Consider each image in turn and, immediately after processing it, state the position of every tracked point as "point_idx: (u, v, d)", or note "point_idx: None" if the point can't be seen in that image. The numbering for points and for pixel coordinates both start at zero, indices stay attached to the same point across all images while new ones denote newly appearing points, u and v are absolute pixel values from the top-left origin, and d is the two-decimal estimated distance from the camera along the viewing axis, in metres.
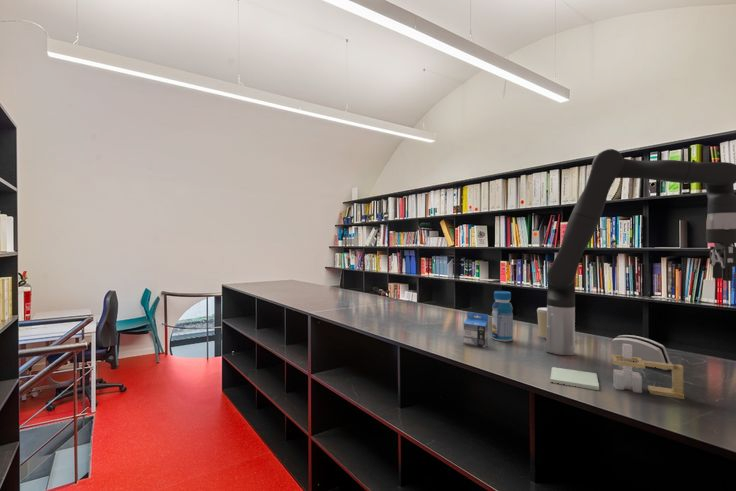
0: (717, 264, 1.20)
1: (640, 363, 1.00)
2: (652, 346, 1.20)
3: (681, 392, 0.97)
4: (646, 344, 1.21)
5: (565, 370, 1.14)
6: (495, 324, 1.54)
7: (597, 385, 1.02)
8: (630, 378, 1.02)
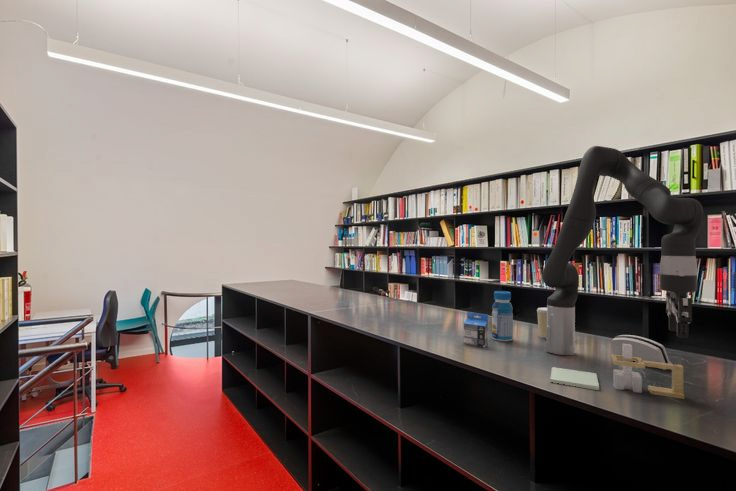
0: (674, 314, 1.02)
1: (640, 363, 1.00)
2: (652, 346, 1.20)
3: (681, 392, 0.97)
4: (646, 344, 1.22)
5: (565, 370, 1.14)
6: (495, 324, 1.54)
7: (597, 385, 1.02)
8: (630, 378, 1.02)
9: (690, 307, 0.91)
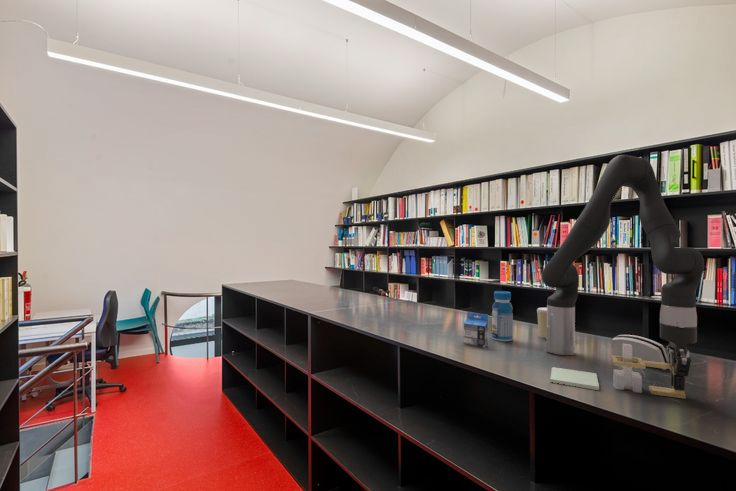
0: None
1: (640, 363, 1.00)
2: (651, 346, 1.21)
3: (682, 392, 0.97)
4: (645, 344, 1.22)
5: (565, 370, 1.14)
6: (495, 324, 1.54)
7: (597, 385, 1.02)
8: (630, 378, 1.02)
9: (688, 366, 0.93)
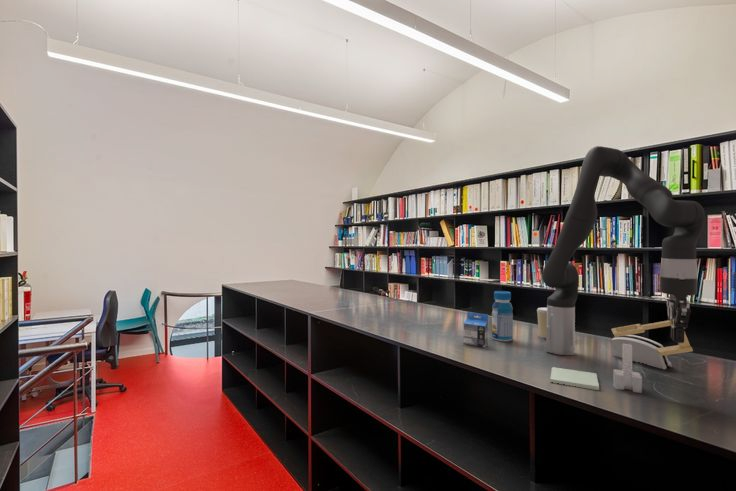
0: None
1: (639, 328, 1.00)
2: (651, 345, 1.21)
3: (688, 345, 0.96)
4: (645, 343, 1.22)
5: (565, 370, 1.14)
6: (495, 324, 1.54)
7: (597, 385, 1.02)
8: (630, 378, 1.02)
9: (688, 317, 0.93)
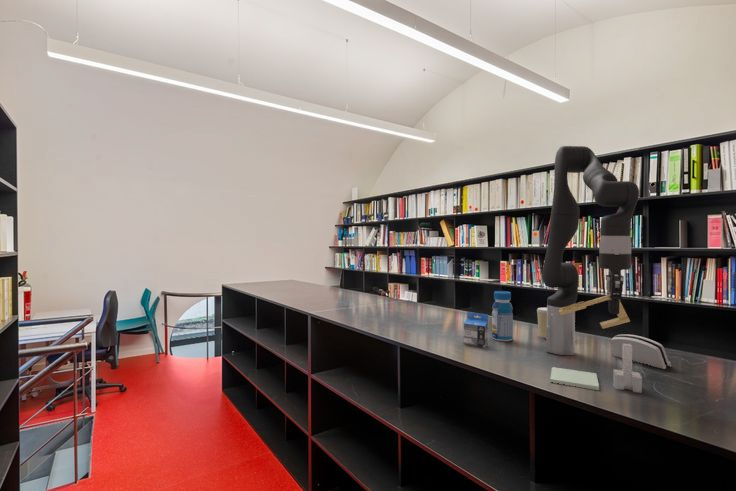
0: None
1: (581, 305, 1.06)
2: (650, 345, 1.21)
3: (626, 316, 1.03)
4: (645, 343, 1.22)
5: (565, 370, 1.14)
6: (495, 324, 1.54)
7: (597, 385, 1.02)
8: (630, 378, 1.02)
9: (621, 289, 1.00)
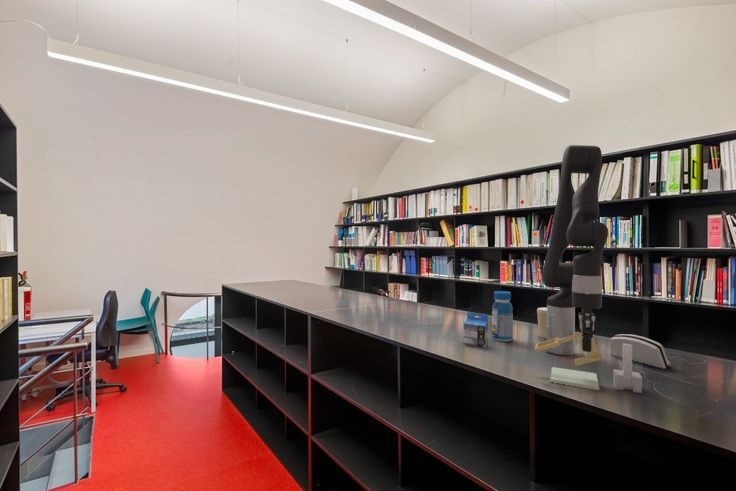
0: None
1: (555, 342, 1.09)
2: (650, 345, 1.22)
3: (598, 354, 1.06)
4: (644, 343, 1.23)
5: (565, 370, 1.14)
6: (495, 324, 1.54)
7: (597, 385, 1.02)
8: (630, 378, 1.02)
9: (591, 328, 1.03)
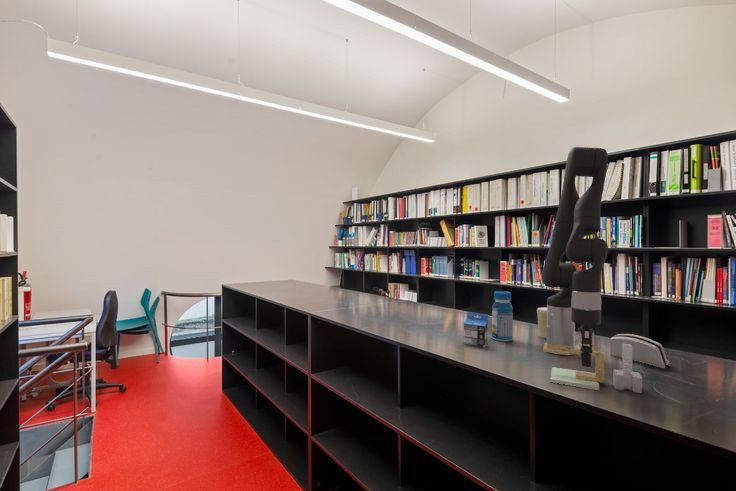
0: None
1: (566, 350, 1.08)
2: (650, 345, 1.22)
3: (602, 376, 1.05)
4: (644, 343, 1.23)
5: (565, 370, 1.14)
6: (495, 324, 1.54)
7: (597, 385, 1.02)
8: (630, 378, 1.02)
9: (590, 339, 1.01)
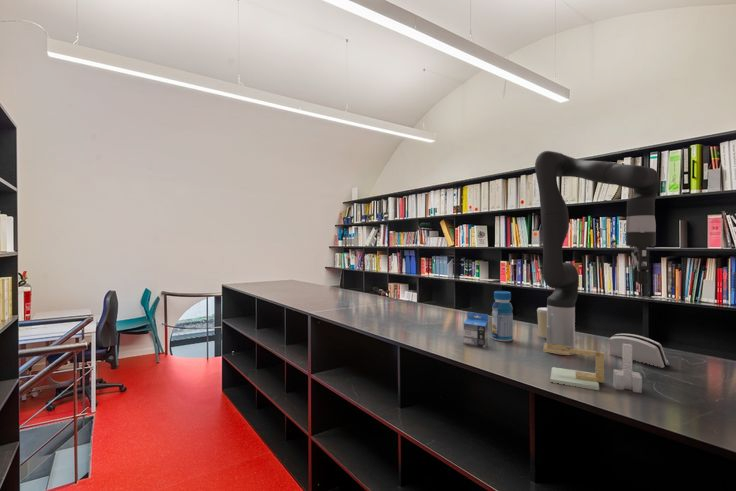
0: (637, 267, 1.19)
1: (566, 350, 1.08)
2: (649, 344, 1.22)
3: (602, 376, 1.05)
4: (643, 342, 1.24)
5: (565, 370, 1.14)
6: (495, 324, 1.54)
7: (597, 385, 1.02)
8: (630, 378, 1.02)
9: (648, 257, 1.08)
